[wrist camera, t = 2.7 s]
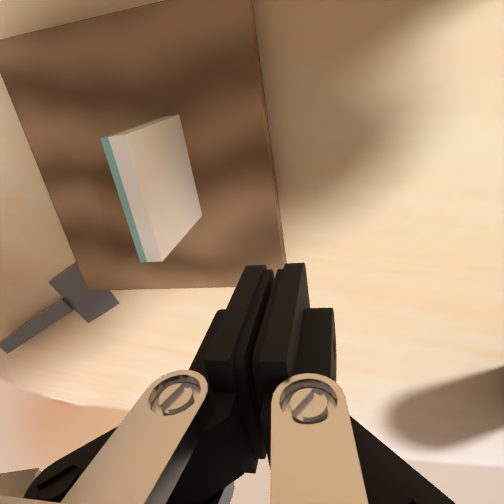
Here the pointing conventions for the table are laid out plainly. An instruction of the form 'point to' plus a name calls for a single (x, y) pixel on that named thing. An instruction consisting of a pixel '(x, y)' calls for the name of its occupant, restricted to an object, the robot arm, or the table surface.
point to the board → (143, 110)
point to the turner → (64, 306)
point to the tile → (154, 184)
